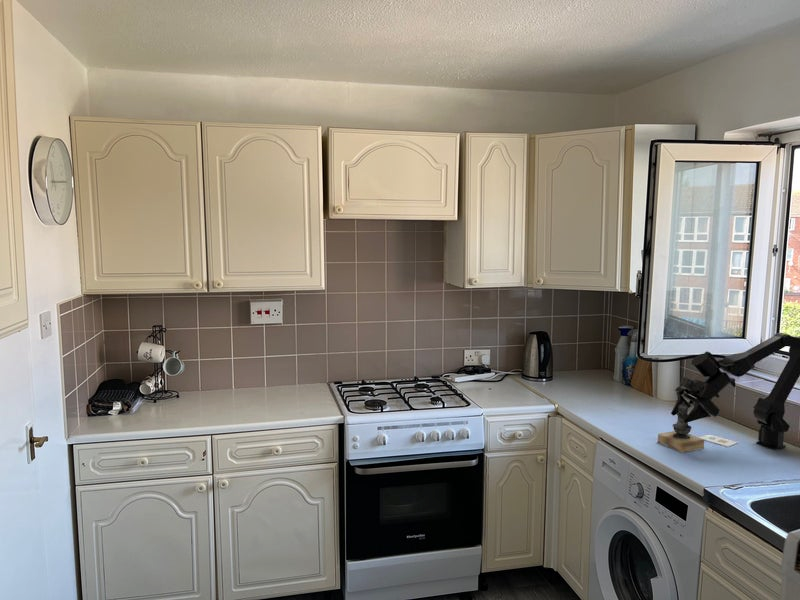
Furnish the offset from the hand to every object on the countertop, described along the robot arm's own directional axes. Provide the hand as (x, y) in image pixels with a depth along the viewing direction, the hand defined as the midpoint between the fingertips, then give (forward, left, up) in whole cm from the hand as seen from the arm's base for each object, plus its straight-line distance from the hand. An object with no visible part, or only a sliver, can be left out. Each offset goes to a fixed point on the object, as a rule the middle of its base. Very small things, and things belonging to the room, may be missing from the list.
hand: (678, 418), depth 194 cm
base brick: (-1, -1, -9) cm, 10 cm away
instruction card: (-3, -17, -9) cm, 20 cm away
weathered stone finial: (-1, -2, -7) cm, 7 cm away
